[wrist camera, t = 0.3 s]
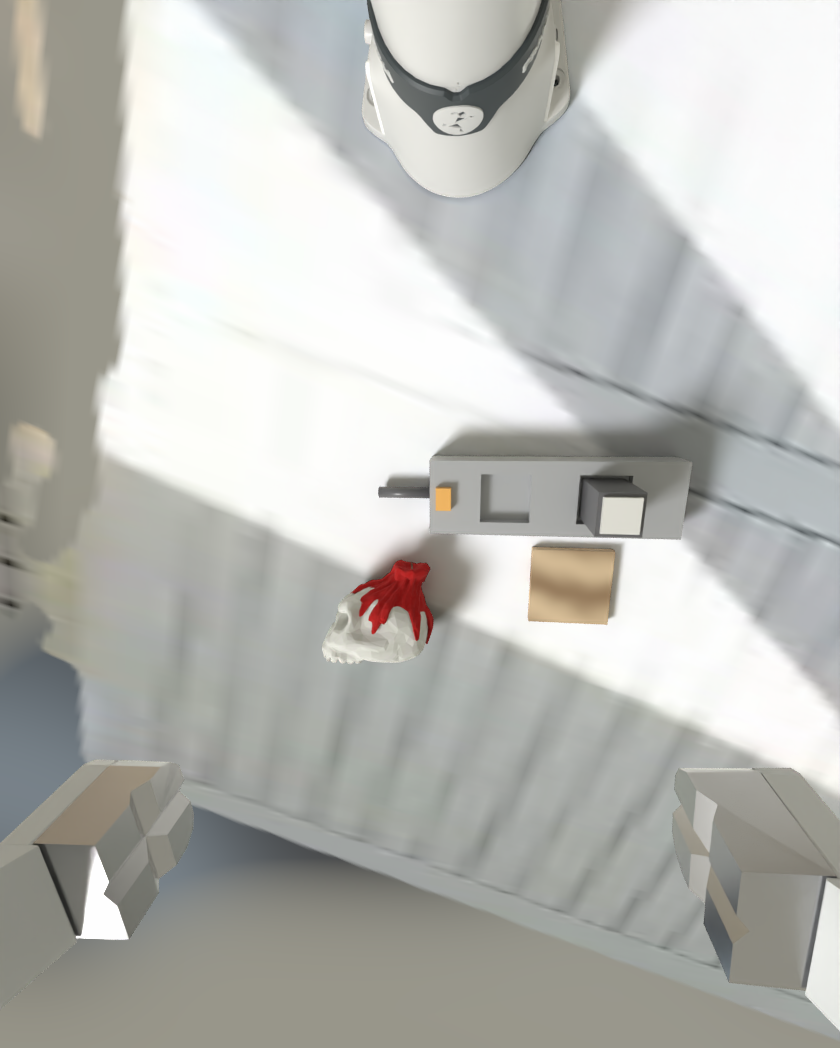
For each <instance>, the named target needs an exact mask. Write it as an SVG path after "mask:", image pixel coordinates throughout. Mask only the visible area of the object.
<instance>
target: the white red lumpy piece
mask: <svg viewBox="0 0 840 1048" xmlns="http://www.w3.org/2000/svg"><path fill="white" fill-rule="evenodd" d="M429 570H430V567H429V566H428V564H427V563H418V564H416V563H413V562H406V561H403V560H399V561H397V562H396V563H395V564H394V566H393V568H392V570H391V572H390V573H388V574H387V575H386V576H385V577H383V578H382V579H379V580H371V581H369V582H367V583H365V584H361V585H359V586H358V587H357V588H356V589H355V590H353V591H352V592H351V593H350V594H348V595H347V596H346V597H345V598H343V599H342V601H341V602H340V603H339V605H338V613H337V614H336V622H335V623H333V624H332V626H331V628H330V629H329V631H328V633H327V636H326V638H325V640H324V642H323V645H322V650H323V652H324V657H326V660H327V662H328V661H330V659H331V662H333V663H336V662H337V660H339V661H340V663H345V662H346V661H347V662H348V664H352V663H353V662H356V664H358V663H361V662H362V660H367V661H372V662H387V663H389V662H393V663H397V662H403V661H406V660H410V659H412V658H415V657H416V656H418V655H419V654H420V653H421V651H422V650H423V648H424V645H425V643H426V644H428V641H429V638H430V635H431V632H432V629H433V622H434V619H433V616H432V614H431V612H430V610H429V608H428V607H427V605H426V602H425V597H424V595H423V592H422V589H421V585H422V582H424V581H425V579H426V577H427V575H428V572H429Z"/></svg>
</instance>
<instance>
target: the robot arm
mask: <svg viewBox="0 0 840 1048" xmlns="http://www.w3.org/2000/svg"><path fill="white" fill-rule="evenodd" d="M367 5H368V12H369V18H370V19H369V20H366V21H365V25H364V37H365V42H366V44H369V53H368V60H367V61H366V64H365V66H366V78H365V86H364V95H363V103H362V116H363V120H364V123H365V125H366V127H367V128H368V129H369V130H370V131H371V132H372V133H373V134H374V135H375V136H377V137H378V138H380V139H381V140H383V141H384V142H386V143H387V144H388V145H389V146H390V147H391V149H392V150H393V152H394V153H395V155H396V157H397V159H398V160H399V162H400V164H401V165H402V167H403V168H404V169H405V171H406V172H407V173H408V174H409V175H410V176H411V177H412V178H413V179H414V180H415V181H416V182H417V183H418V184H420V185H421V186H422V187H424V188H425V189H427V190H429V191H431V192H433V193H436V194H439V195H442V196H446V197H454V198H463V197H471V196H475V195H479V194H482V193H485V192H487V191H489V190H491V189H493V188H495V187H496V186H498V185H499V184H501V183H502V182H503V181H505V180H506V179H507V178H508V177H510V176H511V175H512V174H513V173H514V172H515V170H516V169H517V168H518V167H519V166H520V165H521V163H522V162H523V161H524V159H525V158H526V156H527V154H528V153H529V151H530V149H531V148H532V146H533V144H534V143H535V141H536V139H537V138H538V137H539V135H540V134H541V133H542V132H543V131H544V130H545V129H547V128H548V127H549V126H550V125H552V124H553V123H554V122H555V121H556V120H558V119H559V118H560V117H561V116H562V115H563V113H564V112H565V111H566V109H567V107H568V105H569V99H570V83H569V74H568V64H567V54H566V45H565V35H564V26H563V16H562V6H561V0H367ZM555 80H557V81H558V83H559V84H558V85H557V86H555V87H554V82H555ZM183 782H184V777H183V774H182V771H181V769H180V766H179V765H178V764H175V763H172V762H157V761H133V760H120V761H116V760H93V761H91V762H89V763H86V764H84V765H83V766H82V767H80V769H78V770H77V771H76V772H75V773H74V774H73V775H72V776H71V777H70V778H69V779H68V780H67V781H66V782H65V783H64V784H62V785H61V786H60V787H59V788H58V789H57V790H56V791H55V792H54V793H53V794H52V795H51V796H50V797H49V798H48V799H47V800H45V801H44V802H43V803H42V804H41V805H40V806H39V807H38V808H37V809H36V810H35V811H34V812H33V813H32V814H31V815H30V816H29V817H27V818H26V820H24V821H23V822H22V823H21V824H20V825H19V826H18V827H17V828H16V829H15V830H14V831H13V832H12V833H11V834H10V835H9V836H8V837H6V838H5V839H4V840H3V841H2V842H1V843H0V1009H1V1008H3V1007H4V1006H5V1005H6V1004H7V1003H8V1002H9V1001H10V1000H12V999H13V998H14V997H15V996H16V995H17V994H18V993H20V992H21V991H22V990H23V989H24V988H25V987H26V986H27V985H29V984H30V983H31V982H32V981H33V980H34V979H35V978H37V977H38V976H39V975H40V974H41V973H42V972H43V971H45V970H46V969H47V968H48V967H49V966H50V965H51V964H52V963H53V962H55V961H56V960H57V959H58V958H59V957H60V956H62V955H63V954H64V953H65V952H66V951H67V950H68V949H69V948H70V947H72V946H73V945H74V944H75V943H76V942H77V938H95V939H125V940H128V939H130V937H131V936H132V934H133V933H134V931H135V929H136V928H137V926H138V925H139V923H140V922H141V920H142V919H143V917H144V915H145V914H146V912H147V911H148V909H149V908H150V906H151V904H152V903H153V901H154V900H155V898H156V897H157V895H158V893H159V878H160V877H162V876H163V875H164V874H166V873H167V872H168V871H169V870H170V869H172V868H173V867H174V866H176V865H177V863H178V862H179V860H180V858H181V857H182V855H183V853H184V852H185V850H186V848H187V846H188V843H189V839H190V837H191V833H192V830H193V818H194V815H193V809H192V805H191V801H190V800H189V799H188V798H187V797H186V796H185V795H184V794H183V793H182V792H181V791H180V788H181V786H182V784H183ZM674 790H675V792H676V794H677V796H678V798H679V800H680V802H681V805H680V806H679V807H678V808H677V809H676V811H675V812H674V813H673V823H672V833H673V839H674V845H675V852H676V855H677V859H678V862H679V865H680V868H681V871H682V874H683V876H684V879H685V881H686V883H687V886H688V888H689V890H691V891H692V892H693V893H694V894H695V895H696V896H697V897H698V898H699V899H700V900H702V901H703V902H704V903H705V910H704V923H703V924H704V926H705V928H706V931H707V933H708V935H709V938H710V940H711V942H712V945H713V947H714V949H715V952H716V954H717V956H718V959H719V961H720V963H721V966H722V968H723V970H724V973H725V975H726V977H727V980H728V982H729V983H735V984H745V985H755V986H765V987H774V988H784V989H794V990H803V991H806V993H805V995H806V996H807V997H808V999H809V1000H810V1001H811V1002H812V1003H813V1004H814V1005H815V1006H816V1007H817V1008H818V1009H819V1010H820V1011H821V1012H822V1013H823V1014H824V1015H825V1016H826V1017H827V1018H828V1019H829V1020H830V1021H831V1022H832V1023H833V1024H834V1025H835V1027H836V1028H837V1029H838V1030H839V1031H840V820H839V819H838V818H837V816H836V815H835V814H834V813H833V812H832V811H831V809H830V808H829V807H828V806H827V805H826V803H825V802H824V801H823V800H822V799H821V798H820V796H819V795H818V794H817V793H816V792H815V791H814V789H813V788H812V787H811V786H810V785H809V784H808V782H807V781H806V780H805V779H804V778H803V776H802V775H801V774H800V773H798V772H797V771H795V770H793V769H792V768H752V769H748V768H679V769H678V771H677V773H676V775H675V786H674Z"/></svg>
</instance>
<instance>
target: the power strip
mask: <svg viewBox="0 0 840 1048" xmlns="http://www.w3.org/2000/svg"><path fill="white" fill-rule="evenodd" d="M692 463H693V462H691V461H688V460H685V459H682V458H679V457H598V456H432V458H431V459H430V487H379V490H378V494H379V497H387V498H430V533H433V534H474V535H515V536H557V537H594V535H593V534H592V533H591V532H590V530H589V529H588V528H587V526H586V525H585V524H584V523H583V521H582V520H581V519H580V518H579V509H580V498H581V486H582V478H624V479H626V480H628V481H629V482H631V483H633V484H634V485H636V486H637V487H639V488H641V489H642V490H644V491H645V492H647V493H648V495H647V503H646V511H645V519H644V527H643V534H642V538H639V539H680V540H681V535H682V529H683V522H684V516H685V509H686V503H687V496H688V489H689V483H690V476H691V470H692ZM598 538H629V537H598Z"/></svg>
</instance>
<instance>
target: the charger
mask: <svg viewBox="0 0 840 1048" xmlns="http://www.w3.org/2000/svg"><path fill="white" fill-rule="evenodd" d="M647 495H648V493H647V492H645V491H644V490H642V489H641V488H639V487H637V486H636V485H634V484H633V483H631V482H629V481H628V480H626V479H624V478H582V486H581V498H580V509H579V518H580V519H581V520H582V521H583V523H584V524H585V525H586V526H587V528H588V529H589V530H590V532H591V533H592V534H593V535H594V537H629V538H642V534H643V527H644V519H645V511H646V503H647Z"/></svg>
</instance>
